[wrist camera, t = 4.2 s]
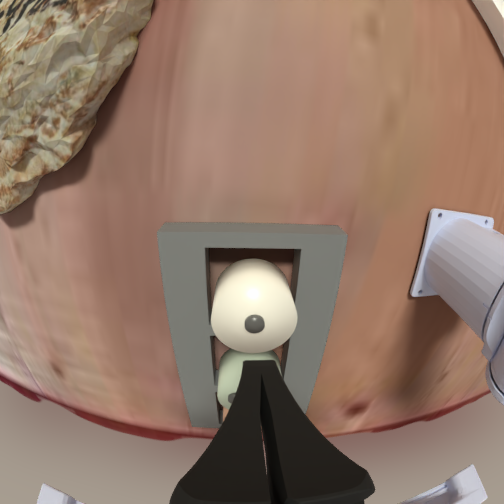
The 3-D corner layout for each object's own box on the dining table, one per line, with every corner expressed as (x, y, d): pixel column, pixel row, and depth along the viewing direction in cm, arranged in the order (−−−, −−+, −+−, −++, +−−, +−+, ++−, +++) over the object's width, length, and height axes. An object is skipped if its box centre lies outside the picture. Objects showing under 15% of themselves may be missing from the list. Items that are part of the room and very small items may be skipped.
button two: (282, 343, 20) (288, 378, 16) (276, 382, 22) (281, 415, 18) (218, 343, 20) (215, 379, 16) (220, 383, 21) (219, 416, 18)
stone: (169, -101, 3) (100, 236, 13) (182, -64, 9) (138, 210, 18) (-11, -19, 2) (-52, 227, 11) (18, -7, 8) (-14, 209, 17)
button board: (337, 225, 19) (347, 235, 17) (298, 412, 27) (301, 425, 25) (165, 222, 18) (157, 232, 16) (193, 412, 27) (192, 426, 25)
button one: (291, 258, 17) (303, 287, 14) (285, 320, 19) (293, 355, 16) (214, 258, 17) (208, 287, 14) (216, 320, 19) (212, 356, 15)
